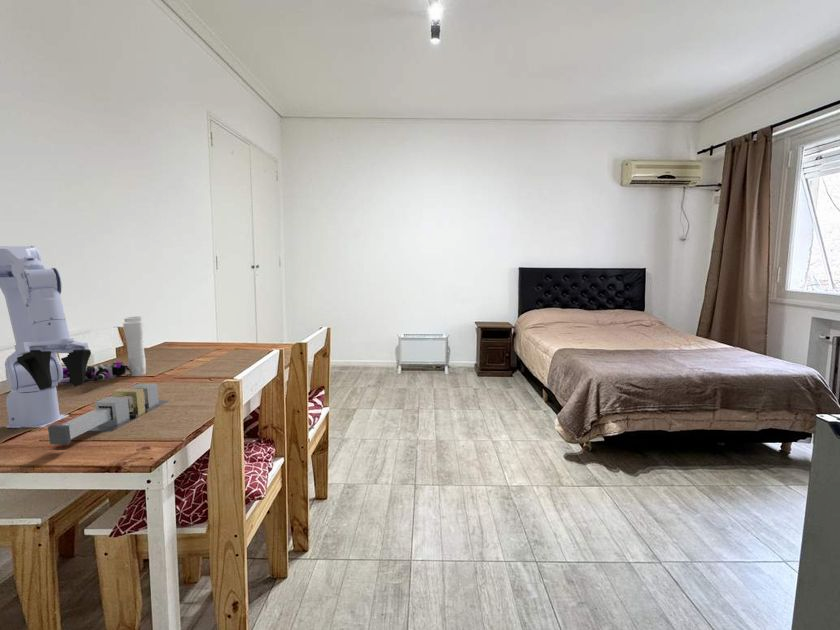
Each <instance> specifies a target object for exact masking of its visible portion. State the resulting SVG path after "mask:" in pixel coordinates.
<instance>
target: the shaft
mask: <svg viewBox="0 0 840 630" xmlns="http://www.w3.org/2000/svg"><path fill="white" fill-rule="evenodd" d="M128 407H129V410H130V399H129V398H128ZM111 419H113V412H112V406H101V407H99V408H97V409H95V408H94V409H92V410H90V411H88V412H85V413H84V414H81V415H79V416H76V417H74V418H72V419H71V420H67V421H65V422H63V423H61V424H50V425H49V426H48V427H47V431H48V438H49V444H50V445H62V446H63V445H67V446H68V445H70V444H71V443H72V440H73V439H74V438H76V437H78V436H80V435H82V434H84V433H87V432H89V431H88V430H90V429H92V428H94V427H97V426H99V425H101V424H103V423H105V422H107V421H109V420H111Z"/></svg>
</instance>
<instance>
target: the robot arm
mask: <svg viewBox="0 0 840 630" xmlns="http://www.w3.org/2000/svg"><path fill="white" fill-rule="evenodd" d="M62 288H63V287H62V277H61V275H60V272H59V270H58V269H57V268H56V267H51V268H47V267H46V265H44V263H43V262H42V259H41V254H40V251H39V248H38V247H36V245H30V246H25V245H23V246H22V245H21V246H17V245H16V246H15V245H14V246H13V245H12V246H0V290H1V292H2V294H3V296H4V299H5V303H6V308H7V312H8V315H9V319H10V325H11V329H12V333H13V337H14V342H15V345H14V352H13V353H12V354H10V355H8V356H7V357H6V359H5V361H4V368H5V378H6V382H7V386H8V388H9V389H10V390H11V391H9V393H8V394H7V395H6V400H5V405H6V411H7V419H8V424H7V425H5V428H6V429H7V428H8V429H10V428H11V429H20V428H43V427H46V426H48V425H52V424H53V423H56V422H58V421H60V420H62V419H64V418H66V417H70V415H69V414H60V407H59V399H58V397H59V396H58V391H57V387H58V386H59V384H58V382H60V381H61V380H62V379H63V370H62V368H63V366H62V365H63V364H64V365H65V366H64V367H65V368H67V370H68V372H69V375H70V378H71V382H72V383H71V382H70V383H71V385H72V386H73V387H75V388H76V387H79V386H83V385H85V384H86V383H85V382H86V379H85V373H86V366H88V362H89V360H90V357H91V355H92V351H91V349H89V345H88V342H81V341H76V340H75V339H74V338H73V337H70V332H69V328H68V324H67V320H66V319H67V318H66V315H65V310H64V306H63V301H62V298H61V293H62ZM59 354H67V356H65V357H61V358H60V359H59V357H58V355H59ZM62 363H63V364H62Z"/></svg>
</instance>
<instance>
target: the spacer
mask: <svg viewBox="0 0 840 630" xmlns="http://www.w3.org/2000/svg"><path fill="white" fill-rule="evenodd" d="M111 394H112V396H111V397H129V396H132V401H133V408H130V410H129V414H138V416H140V415H142V414H144V413H145V403H144V399H145V395H144V391H143V389H132V388H129V387H127V388H124V387H120V388H119V387H118V388H116V389H114V390H112V391H111ZM144 415H145V414H144ZM142 416H143V415H142ZM140 417H141V416H140Z"/></svg>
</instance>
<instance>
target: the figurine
mask: <svg viewBox="0 0 840 630" xmlns="http://www.w3.org/2000/svg"><path fill="white" fill-rule="evenodd" d="M61 365H62V370H63V378H62V380H61V381H60V382H58V385H69V383H70V384H72V382H71V378H70V375H69V372H68V370H67V368H66V366H65V364H64V365H63V364H61ZM129 371H130V369H129V364H126V363H124V362H122V361H121V362H119V361H116V362H112V363H111V364H108V365H105V364H100V365H97V366H96V365H95V366H91V365H87V366H86V373H85V380H89V381H85V384H89V383H96V382H103V381H107V380H114V379H115V378H116V377H117V378H124V377H132V376H131V375H132V374H130V372H131V371H130V372H129ZM127 372H129V373H127Z"/></svg>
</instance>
